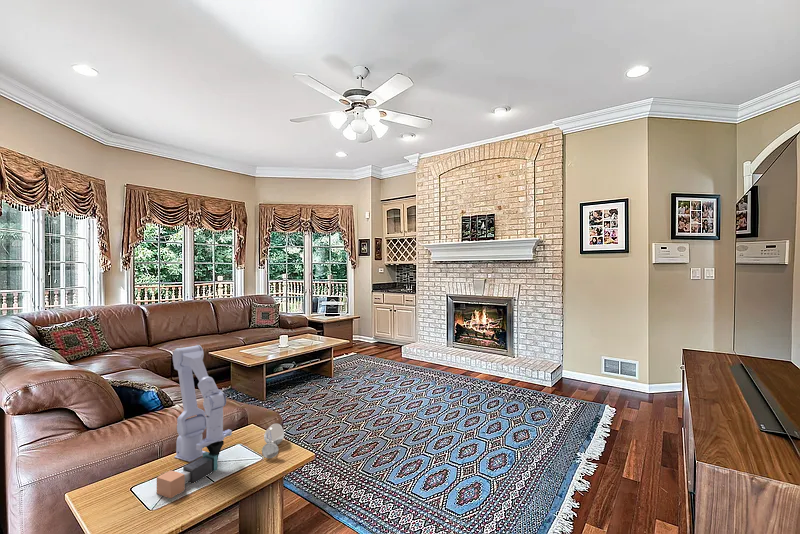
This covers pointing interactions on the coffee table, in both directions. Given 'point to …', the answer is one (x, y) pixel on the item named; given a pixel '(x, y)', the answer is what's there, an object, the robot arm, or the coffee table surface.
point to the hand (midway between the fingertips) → (214, 461)
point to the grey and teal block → (208, 455)
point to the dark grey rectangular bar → (199, 468)
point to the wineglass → (272, 440)
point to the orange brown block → (170, 483)
